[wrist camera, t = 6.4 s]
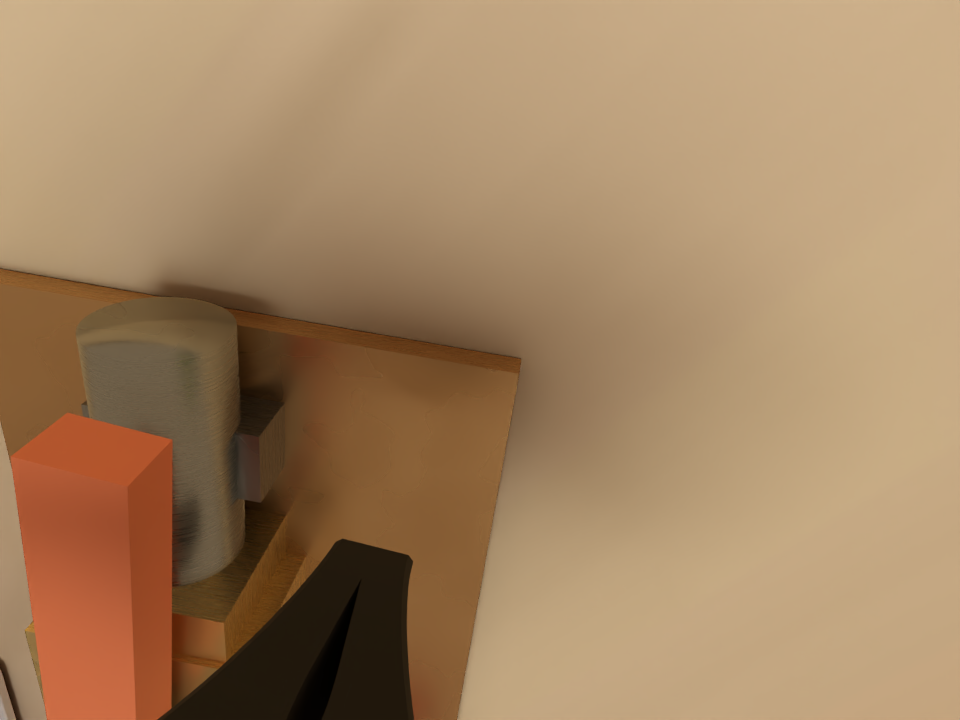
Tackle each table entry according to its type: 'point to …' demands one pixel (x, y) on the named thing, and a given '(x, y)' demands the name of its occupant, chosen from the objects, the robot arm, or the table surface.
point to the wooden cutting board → (277, 455)
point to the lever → (99, 567)
